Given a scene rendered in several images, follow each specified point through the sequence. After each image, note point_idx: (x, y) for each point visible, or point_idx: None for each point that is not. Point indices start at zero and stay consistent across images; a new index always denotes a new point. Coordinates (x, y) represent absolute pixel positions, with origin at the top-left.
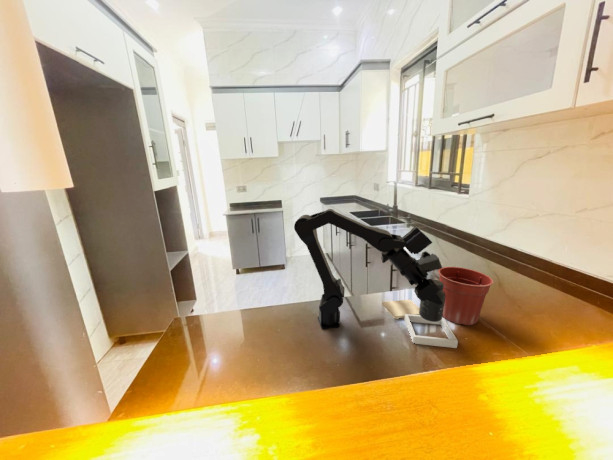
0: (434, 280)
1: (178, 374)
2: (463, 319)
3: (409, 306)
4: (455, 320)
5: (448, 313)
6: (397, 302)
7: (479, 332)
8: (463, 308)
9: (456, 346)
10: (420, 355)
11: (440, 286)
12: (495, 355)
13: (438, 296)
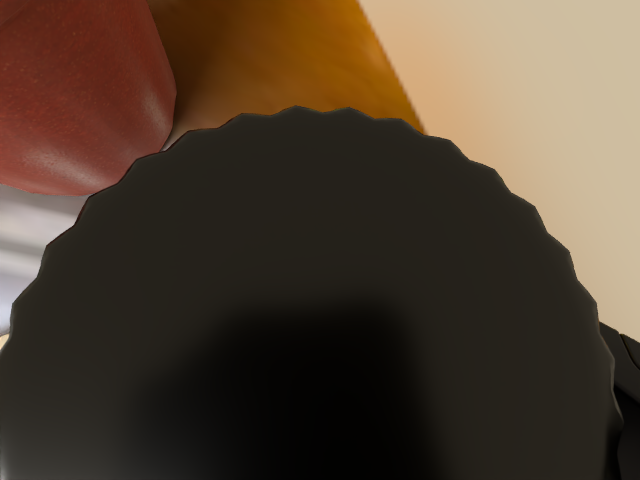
0: (137, 386)
1: None
2: (168, 89)
3: None
4: (160, 134)
5: (121, 156)
6: None
7: (227, 55)
8: (140, 45)
9: None
10: None
11: (551, 256)
12: (388, 61)
13: (608, 330)
